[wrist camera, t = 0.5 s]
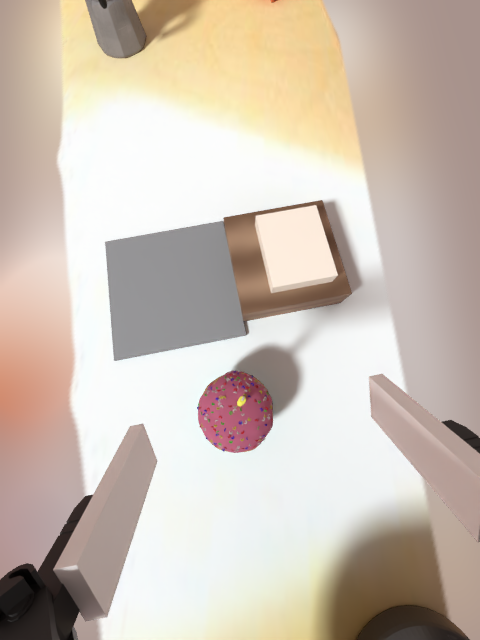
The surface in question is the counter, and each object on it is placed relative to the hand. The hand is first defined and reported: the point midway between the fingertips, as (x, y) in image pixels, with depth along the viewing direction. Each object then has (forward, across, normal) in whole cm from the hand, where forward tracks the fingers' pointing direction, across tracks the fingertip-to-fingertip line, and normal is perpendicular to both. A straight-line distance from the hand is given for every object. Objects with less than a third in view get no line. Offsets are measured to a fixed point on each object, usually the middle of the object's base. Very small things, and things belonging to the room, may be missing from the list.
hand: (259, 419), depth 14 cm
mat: (+25, +9, -6) cm, 27 cm away
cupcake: (+16, +3, +10) cm, 19 cm away
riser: (+25, -7, -5) cm, 27 cm away
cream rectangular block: (+22, -8, -7) cm, 24 cm away
